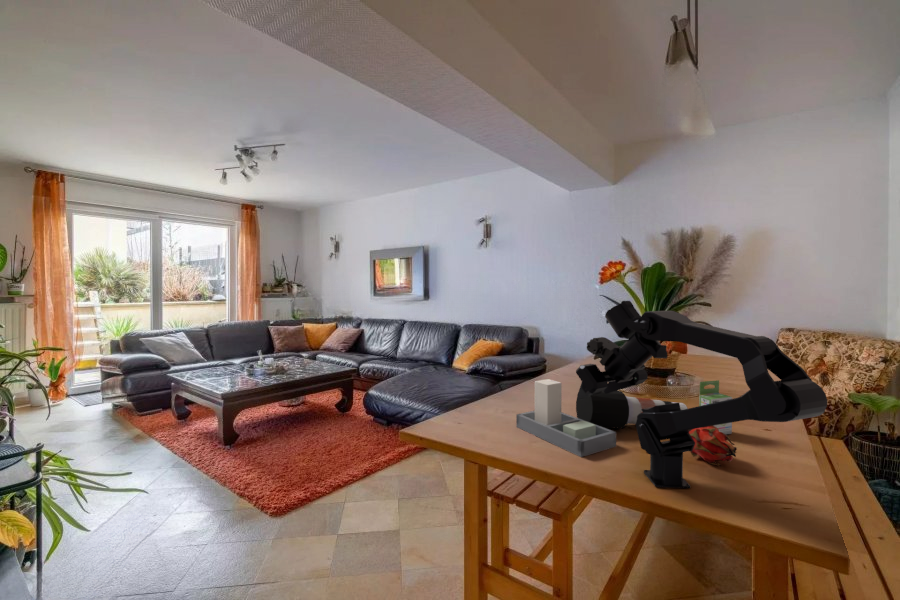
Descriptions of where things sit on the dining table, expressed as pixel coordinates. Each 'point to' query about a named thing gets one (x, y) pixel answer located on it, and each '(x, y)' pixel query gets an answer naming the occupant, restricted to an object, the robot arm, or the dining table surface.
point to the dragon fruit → (712, 445)
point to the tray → (569, 433)
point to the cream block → (548, 401)
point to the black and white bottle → (614, 408)
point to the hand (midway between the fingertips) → (592, 394)
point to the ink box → (714, 401)
